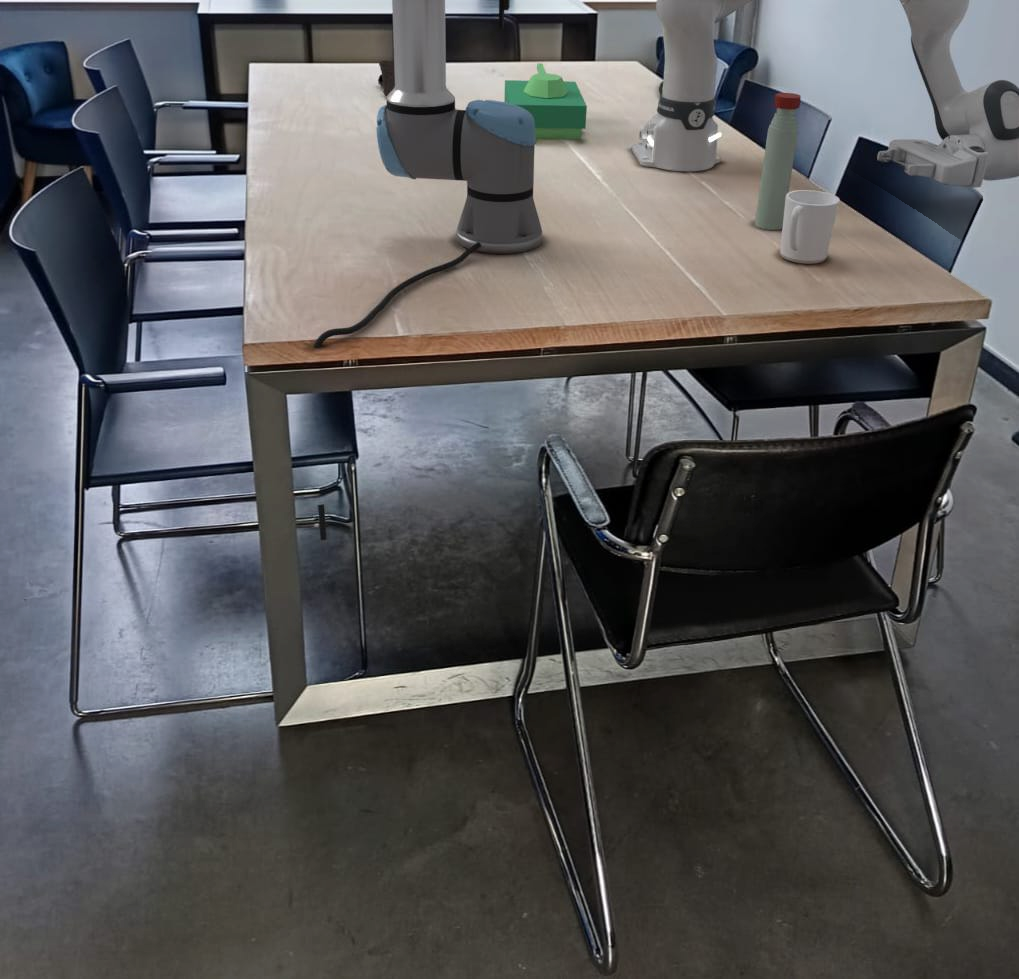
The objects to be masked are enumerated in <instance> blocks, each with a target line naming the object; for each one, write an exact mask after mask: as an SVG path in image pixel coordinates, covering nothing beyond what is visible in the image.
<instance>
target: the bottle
mask: <svg viewBox="0 0 1019 979" xmlns="http://www.w3.org/2000/svg"><path fill="white" fill-rule="evenodd" d="M796 116H797V114H796V109H792V110H789V109H780V108H776V112H775V113H774V116H773V117H772V120H771V121H770V124H769V126H768V128H767V134H766V143H765V148H764V156H763V163H762V171H761V178H760V184H759V190H758V191H759V192H758V199H757V206H756V212H755V220H754V226H755V227H756V228H758V229H762V230H767V231H777V230H778V231H779V230H782V228H783V219H784V209H785V200H786V194H787V193H789V192H790V186H791V179H792V173H793V166H794V162H795V161H794V160H795V154H796V148H797V141H798V135H799V130H798V129H799V126H798V122H797V118H796Z"/></svg>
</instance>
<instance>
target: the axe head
mask: <svg viewBox="0 0 1019 979" xmlns="http://www.w3.org/2000/svg"><path fill="white" fill-rule="evenodd" d="M378 66H379V68H380V72H381V74H379V75H378V79H377V84H378V85H379V86H380V87H381V88H382V89H383V95H384V96H385V97H387V96H388V94H389V93H390V92H391V91H392V90H393V89H394V87H395V68H394V60H388V59H387V60H380V61H379V62H378Z"/></svg>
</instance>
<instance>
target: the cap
mask: <svg viewBox="0 0 1019 979" xmlns="http://www.w3.org/2000/svg"><path fill="white" fill-rule="evenodd" d="M801 98H802V96H801V95H800V94H798V93H793V92H777V93H775V96H774V101H773V106H774V108H776V109H777V108H780V109H789V110H792V109H795V110H798V109H799V108H800V106H801Z"/></svg>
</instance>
